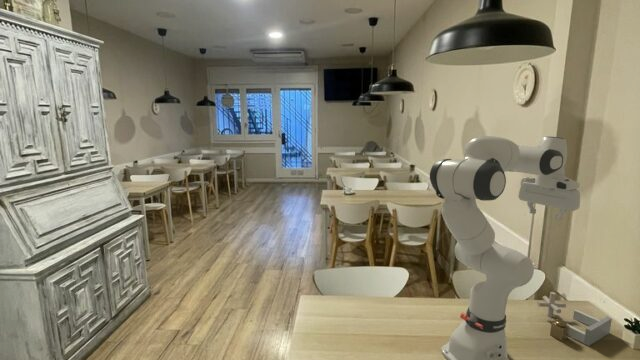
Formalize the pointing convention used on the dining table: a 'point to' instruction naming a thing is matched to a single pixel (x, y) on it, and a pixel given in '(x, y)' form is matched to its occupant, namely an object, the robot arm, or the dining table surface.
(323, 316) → the dining table surface
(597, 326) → the socket cradle
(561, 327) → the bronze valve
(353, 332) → the dining table surface
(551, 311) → the beige crossed rod piece
